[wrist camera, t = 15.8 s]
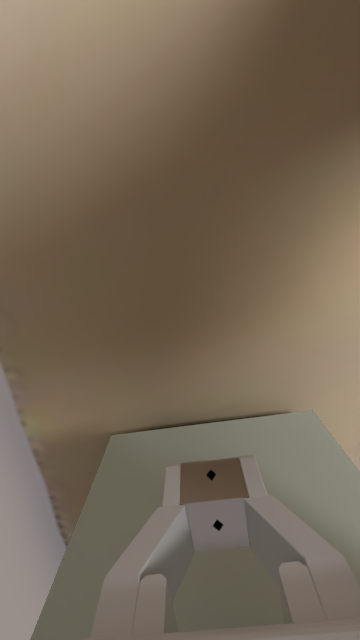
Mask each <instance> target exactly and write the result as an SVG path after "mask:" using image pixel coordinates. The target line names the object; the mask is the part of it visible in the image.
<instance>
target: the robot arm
mask: <svg viewBox="0 0 360 640" xmlns="http://www.w3.org/2000/svg"><path fill="white" fill-rule="evenodd" d="M239 547H250V549H251V550H252V551H253V553H254V554H255V555H256V557H257V558H258V559H259V561H260V562H261V563H262V565H263V566H264V567H265V569H266V570H267V571H268V573H269V574H270V575H271V577H272V578H273V579H274V581H275V582H276V583H277V585H278V586H279V587H280V590H281V601H282V612H283V623H284V624H276V625H263V626H250V627H237V628H224V629H211V630H199V631H186V632H179V631H178V626H177V622H176V618H175V613H174V609H173V605H172V603H173V601H174V599H175V597H176V594H177V592H178V590H179V588H180V585H181V583H182V581H183V579H184V576H185V574H186V572H187V570H188V567H189V565H190V563H191V561H192V558H193V556H194V552H199V551H207V550H214V549H223V548H239ZM82 640H360V587H359V585H358V583H357V581H356V579H355V577H354V575H353V573H352V571H351V569H350V567H349V565H348V563H347V561H346V559H345V557H344V556H343V555H342V554H341V553H340V552H339V551H337V550H336V549H335V548H334V547H333V546H332V545H330V544H329V543H328V542H327V541H326V540H324V539H323V538H322V537H321V536H320V535H319V534H317V533H316V532H315V531H314V530H313V529H311V528H310V527H309V526H308V525H307V524H306V523H304V522H303V521H302V520H301V519H300V518H299V517H297V516H296V515H295V514H294V513H293V512H291V511H290V510H289V509H288V508H287V507H286V506H284V505H283V504H282V503H281V502H280V501H278V500H277V499H276V498H275V497H274V496H273V495H270V496H268V495H267V492H266V489H265V486H264V483H263V480H262V477H261V474H260V471H259V468H258V465H257V462H256V459H255V456H254V455H246V456H239V457H232V458H224V459H216V460H208V461H197V462H186V463H178V464H167V466H166V470H165V480H164V491H163V501H162V507H158V508H157V509H156V510H155V511H154V513H153V514H152V515H151V517H150V518H149V519H148V521H147V522H146V523H145V525H144V526H143V527H142V529H141V530H140V531H139V533H138V534H137V535H136V537H135V538H134V539H133V541H132V542H131V543H130V545H129V546H128V547H127V549H126V550H125V551H124V553H123V554H122V555H121V557H120V558H119V559H118V560H117V562H116V563H115V564H114V566H113V567H112V568H111V570H110V571H109V572H108V574H107V575H106V576H105V579H104V583H103V587H102V591H101V595H100V599H99V603H98V607H97V611H96V615H95V619H94V623H93V627H92V631H91V635H90V639H82Z"/></svg>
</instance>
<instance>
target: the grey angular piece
mask: <svg viewBox="0 0 360 640" xmlns="http://www.w3.org/2000/svg"><path fill="white" fill-rule="evenodd" d="M246 455H254V456H255V459H256V462H257V465H258V468H259V471H260V474H261V477H262V480H263V483H264V486H265V489H266V492H267V495H268V496H270V495H273V496H274V497H275V498H276V499H277V500H278V501H280V502H281V503H282V504H283V505H284V506H286V507H287V508H288V509H289V510H290V511H291V512H293V513H294V514H295V515H296V516H297V517H299V518H300V519H301V520H302V521H303V522H304V523H306V524H307V525H308V526H309V527H310V528H311V529H313V530H314V531H315V532H316V533H317V534H319V535H320V536H321V537H322V538H323V539H324V540H326V541H327V542H328V543H329V544H330V545H332V546H333V547H334V548H335V549H336V550H337V551H339V552H340V553H341V554H342V555H343V556H344V557H345V559H346V561H347V563H348V565H349V567H350V569H351V571H352V573H353V575H354V577H355V579H356V581H357V583H358V585H359V587H360V471H359V470H358V469H357V467H356V466H355V465H354V463H353V462H352V461H351V459H350V458H349V457H348V456H347V454H346V453H345V452H344V450H343V449H342V448H341V446H340V445H339V444H338V443H337V441H336V440H335V439H334V437H333V436H332V435H331V433H330V432H329V431H328V429H327V428H326V427H325V426H324V424H323V423H322V422H321V420H320V419H319V418H318V416H317V415H316V414H315V413H314V411H313V410H310V411H302V412H294V413H286V414H278V415H270V416H262V417H254V418H246V419H238V420H230V421H222V422H214V423H206V424H198V425H190V426H182V427H174V428H166V429H158V430H150V431H142V432H134V433H126V434H117V435H111V438H110V440H109V443H108V445H107V448H106V450H105V453H104V455H103V458H102V460H101V463H100V466H99V468H98V471H97V473H96V476H95V478H94V481H93V483H92V486H91V488H90V491H89V493H88V496H87V498H86V501H85V503H84V506H83V508H82V511H81V513H80V516H79V519H78V521H77V524H76V526H75V529H74V531H73V534H72V536H71V539H70V541H69V544H68V546H67V549H66V551H65V554H64V556H63V559H62V562H61V564H60V567H59V569H58V572H57V574H56V577H55V579H54V582H53V584H52V587H51V589H50V592H49V594H48V597H47V599H46V602H45V605H44V607H43V610H42V612H41V615H40V617H39V620H38V622H37V625H36V627H35V630H34V632H33V635H32V637H31V640H82V639H90V635H91V631H92V627H93V623H94V619H95V615H96V611H97V607H98V603H99V599H100V595H101V591H102V587H103V583H104V579H105V576H106V575H107V574H108V572H109V571H110V570H111V568H112V567H113V566H114V564H115V563H116V562H117V560H118V559H119V558H120V557H121V555H122V554H123V553H124V551H125V550H126V549H127V547H128V546H129V545H130V543H131V542H132V541H133V539H134V538H135V537H136V535H137V534H138V533H139V531H140V530H141V529H142V527H143V526H144V525H145V523H146V522H147V521H148V519H149V518H150V517H151V515H152V514H153V513H154V511H155V510H156V509H157V508H158V507H162V501H163V491H164V480H165V470H166V466H167V464H178V463H186V462H197V461H208V460H216V459H224V458H232V457H239V456H246ZM172 605H173V609H174V613H175V618H176V622H177V626H178V631H179V632H186V631H199V630H211V629H224V628H237V627H250V626H263V625H276V624H284V623H283V612H282V601H281V590H280V587H279V586H278V585H277V583H276V582H275V581H274V579H273V578H272V577H271V575H270V574H269V573H268V571H267V570H266V569H265V567H264V566H263V565H262V563H261V562H260V561H259V559H258V558H257V557H256V555H255V554H254V553H253V551H252V550H251V549H250V547H239V548H223V549H214V550H207V551H199V552H194V556H193V558H192V561H191V563H190V565H189V567H188V570H187V572H186V574H185V576H184V579H183V581H182V583H181V585H180V588H179V590H178V592H177V594H176V597H175V599H174V601H173V603H172Z"/></svg>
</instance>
